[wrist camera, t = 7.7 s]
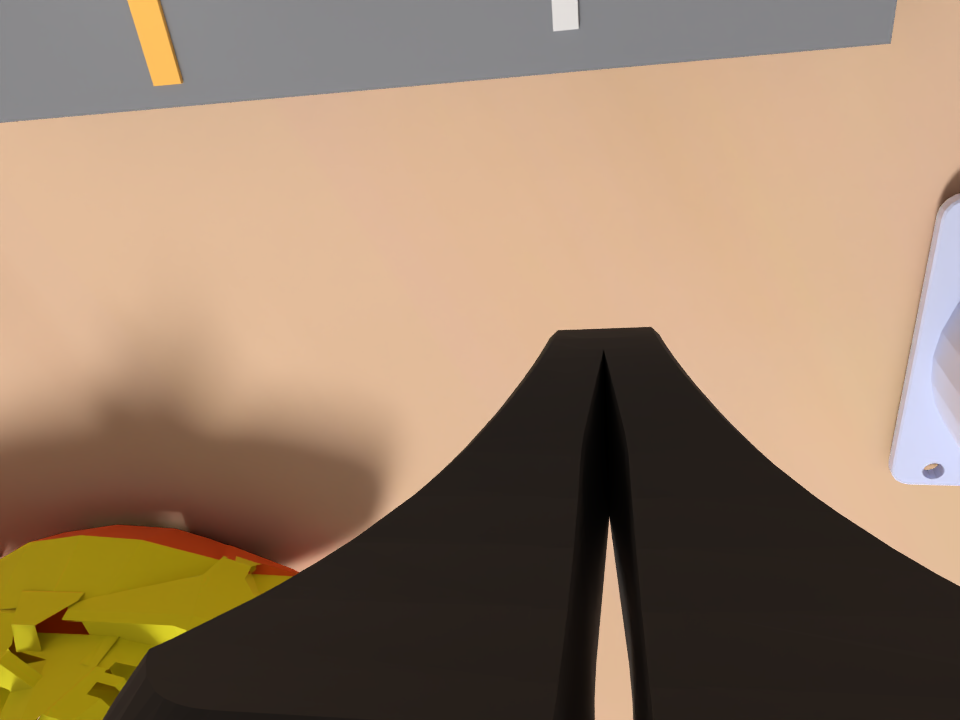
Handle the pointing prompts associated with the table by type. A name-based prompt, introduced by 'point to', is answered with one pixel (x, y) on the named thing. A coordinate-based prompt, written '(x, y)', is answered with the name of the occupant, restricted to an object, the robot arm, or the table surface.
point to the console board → (375, 44)
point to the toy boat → (108, 610)
